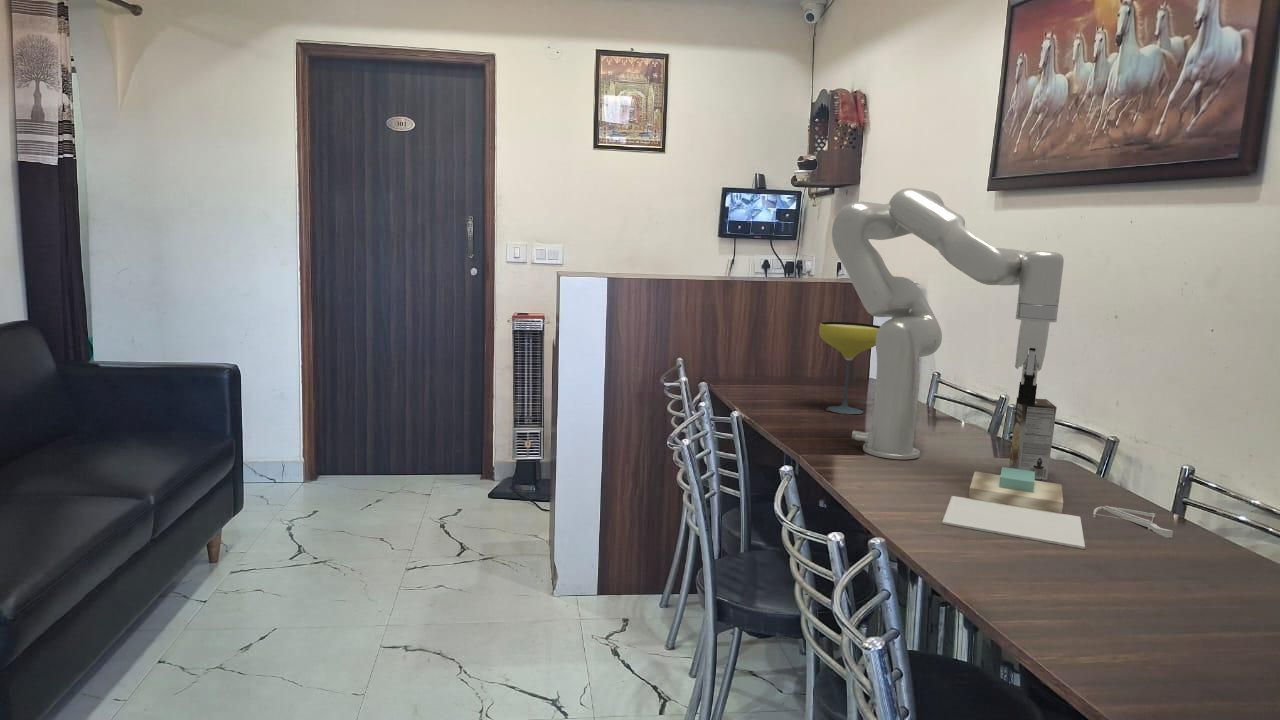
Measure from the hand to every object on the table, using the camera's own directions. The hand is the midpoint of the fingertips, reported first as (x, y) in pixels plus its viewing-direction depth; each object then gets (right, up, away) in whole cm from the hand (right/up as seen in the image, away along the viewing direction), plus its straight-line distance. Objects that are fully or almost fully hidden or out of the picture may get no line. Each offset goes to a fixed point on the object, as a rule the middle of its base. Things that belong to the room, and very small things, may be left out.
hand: (1026, 402), depth 173 cm
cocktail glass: (-20, -6, +72) cm, 75 cm away
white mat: (-13, -20, -23) cm, 33 cm away
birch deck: (-6, -18, -8) cm, 21 cm away
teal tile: (-5, -16, -7) cm, 18 cm away
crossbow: (+11, -21, -19) cm, 31 cm away
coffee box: (+6, -16, +12) cm, 21 cm away
